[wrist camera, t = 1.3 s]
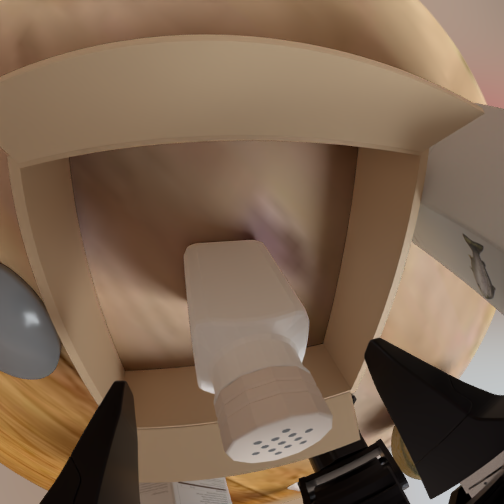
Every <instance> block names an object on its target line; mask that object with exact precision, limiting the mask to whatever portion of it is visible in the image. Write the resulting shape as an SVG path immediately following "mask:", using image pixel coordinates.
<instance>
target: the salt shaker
mask: <svg viewBox="0 0 504 504" xmlns="http://www.w3.org/2000/svg"><path fill="white" fill-rule="evenodd" d="M183 257H184V270H185V282H186V293H187V304H188V313H189V322H190V331H191V339H192V347H193V355H194V362H195V369H196V376H197V383H198V387H199V388H200V389H202V390H204V391H207V392H209V393H212V394H215V396H214V407H215V412H216V417H217V418H218V420H217V421H218V426H219V429H220V430H221V431H220V435H221V439H222V444H223V448H224V452H225V453H226V454H227V455H228V456H229V457H230V458H231V459H232V460H233V461H239V462H246V463H259V462H267V461H274V460H278V459H281V458H284V457H287V456H290V455H293V454H296V453H299V452H301V451H303V450H304V449H306V448H308V447H310V446H312V445H313V444H315V443H317V442H318V441H320V440H321V439H322V438H323V437H324V436H325V435H326V434H327V433H328V432H329V431H330V430H331V429H332V420H333V415H332V413H331V411H330V409H329V407H328V406H327V404H326V402H325V400H324V398H322V394H321V392H320V390H319V388H318V387H316V382H315V381H314V379H313V377H312V375H311V373H310V371H309V370H308V369H306V368H305V367H304V366H303V364H302V361H303V358H304V355H305V351H306V346H307V341H308V332H309V318H308V315H307V312H306V310H305V307H304V306H303V304H302V303H301V301H300V299H299V298H298V296H297V295H296V293H295V292H294V290H293V289H292V287H291V285H290V284H289V282H288V281H287V279H286V278H285V276H284V275H283V273H282V271H281V270H280V268H279V267H278V265H277V264H276V262H275V261H274V259H273V257H272V256H271V254H270V253H269V251H268V250H267V248H266V247H265V245H264V244H263V243H262V242H260V241H256V240H239V241H223V242H208V243H195V244H192V245H190V246H188V247H187V248H186V251H185V254H184V256H183Z"/></svg>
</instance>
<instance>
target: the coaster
mask: <svg viewBox="0 0 504 504" xmlns="http://www.w3.org/2000/svg"><path fill="white" fill-rule="evenodd" d="M60 353H61V341H60V337H59V335H58V333H57V331H56V329H55V327H54V325H53V323H52V320H51V318H50V316H49V313H48V311H47V309H46V306H45V305H44V303H43V302H42V300H41V299H40V298H39V296H38V295H37V294H36V293H35V292H34V290H33V289H32V288H31V287H30V286H29V285H28V284H27V283H26V282H25V281H24V280H23V279H22V278H21V277H19V276H18V275H17V274H16V273H15V272H13V271H12V270H11V269H9V268H8V267H6V266H5V265H3V264H1V263H0V371H2V372H4V373H7V374H9V375H12V376H14V377H18V378H22V379H41V378H44V377H46V376H48V375H50V374H51V373H52V372H53V371H54V370H55V368H56V366H57V364H58V361H59V357H60Z"/></svg>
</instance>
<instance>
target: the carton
mask: <svg viewBox="0 0 504 504" xmlns="http://www.w3.org/2000/svg"><path fill="white" fill-rule="evenodd" d="M483 114H485V113H484V110H483V108H481V107H480V106H478V105H476V104H474V103H472V102H471V101H469V100H467V99H465V98H463V97H461V96H460V95H458V94H456V93H454V92H452V91H450V90H448V89H446V88H443V87H441V86H439V85H437V84H435V83H433V82H430V81H428V80H426V79H424V78H421V77H419V76H416V75H414V74H411V73H409V72H406V71H404V70H401V69H398V68H396V67H393V66H390V65H387V64H384V63H381V62H378V61H375V60H372V59H368V58H365V57H362V56H358V55H354V54H351V53H347V52H343V51H339V50H335V49H331V48H326V47H321V46H316V45H311V44H306V43H300V42H294V41H288V40H281V39H273V38H264V37H253V36H239V35H211V34H201V35H172V36H159V37H148V38H139V39H132V40H125V41H119V42H113V43H107V44H102V45H97V46H92V47H88V48H84V49H79V50H75V51H72V52H68V53H64V54H61V55H57V56H54V57H51V58H48V59H45V60H42V61H39V62H36V63H33V64H30V65H27V66H25V67H22V68H20V69H17V70H15V71H12V72H10V73H7V74H5V75H3V76H1V77H0V147H1V148H2V149H3V150H4V151H5V152H6V153H7V154H9V156H7V162H8V170H9V177H10V183H11V189H12V195H13V200H14V205H15V210H16V215H17V219H18V223H19V227H20V231H21V235H22V239H23V243H24V246H25V250H26V253H27V256H28V260H29V263H30V266H31V269H32V272H33V275H34V278H35V280H36V283H37V286H38V289H39V291H40V294H41V296H42V299H43V301H44V304H45V306H46V309H47V311H48V313H49V316H50V318H51V320H52V323H53V325H54V327H55V329H56V331H57V333H58V335H59V337H60V340H61V342H62V344H63V346H64V348H65V349H66V351H67V353H68V355H69V357H70V359H71V361H72V363H73V364H74V366H75V368H76V370H77V372H78V373H79V375H80V377H81V378H82V380H83V382H84V384H85V385H86V387H87V388H88V390H89V392H90V393H91V395H92V396H93V398H94V399H95V401H96V403H97V404H98V406H99V405H100V404H101V402H102V400H103V399H104V397H105V395H106V394H107V392H108V390H109V389H110V387H111V385H112V384H113V382H114V381H117V380H125V381H126V382H127V383H128V385H129V387H130V389H131V391H132V394H133V397H134V406H135V417H136V426H137V435H138V473H139V483H159V482H182V481H195V480H205V479H214V478H221V477H228V476H235V475H240V474H246V473H251V472H256V471H261V470H266V469H270V468H274V467H278V466H282V465H286V464H290V463H294V462H297V461H301V460H304V459H307V458H311V457H314V456H317V455H320V454H323V453H326V452H329V451H332V450H335V449H337V448H340V447H343V446H345V445H348V444H350V443H353V442H355V441H358V440H360V435H359V429H358V424H357V419H356V414H355V409H354V405H353V400H352V395H351V393H354V392H356V390H357V388H358V386H359V384H360V381H361V379H362V377H363V375H364V373H365V371H366V369H367V364H366V361H365V359H364V353H365V351H366V348H367V346H368V343H369V341H370V340H372V339H375V338H380V336H381V334H382V331H383V329H384V326H385V323H386V321H387V318H388V315H389V313H390V310H391V307H392V304H393V301H394V298H395V296H396V293H397V290H398V286H399V283H400V280H401V277H402V274H403V270H404V267H405V264H406V260H407V257H408V253H409V249H410V246H411V242H412V238H413V234H414V230H415V226H416V221H417V217H418V212H419V207H420V203H421V198H422V192H423V187H424V181H425V175H426V169H427V162H428V154H429V147H431V146H433V145H434V144H436V143H438V142H439V141H441V140H442V139H444V138H446V137H447V136H449V135H451V134H452V133H454V132H455V131H457V130H459V129H460V128H462V127H464V126H465V125H467V124H468V123H470V122H472V121H473V120H475V119H477V118H478V117H480V116H481V115H483ZM207 141H290V142H310V143H324V144H336V145H347V146H357V147H358V156H357V166H356V175H355V183H354V190H353V198H352V205H351V212H350V218H349V224H348V231H347V236H346V242H345V248H344V253H343V259H342V264H341V269H340V274H339V279H338V283H337V288H336V293H335V297H334V302H333V306H332V310H331V315H330V319H329V323H328V327H327V331H326V335H325V339H324V342H323V344H320V345H316V346H311V347H307V348H306V351H305V355H304V358H303V361H302V364H303V366H304V367H305V368H306V369H308V370H309V371H310V373H311V375H312V377H313V379H314V381H315V382H316V387H318V388H319V390H320V392H321V394H322V398H324V400H325V402H326V404H327V406H328V407H329V409H330V411H331V413H332V415H333V420H332V429H331V430H330V431H329V432H328V433H327V434H326V435H325V436H324V437H323V438H322V439H321V440H320V441H318V442H317V443H315V444H313V445H312V446H310V447H308V448H306V449H304V450H303V451H301V452H299V453H296V454H293V455H290V456H287V457H284V458H281V459H278V460H274V461H267V462H259V463H246V462H239V461H233V460H232V459H231V458H230V457H229V456H228V455H227V454H226V453H225V452H224V448H223V444H222V439H221V435H220V431H221V430H220V429H219V426H218V421H217V420H218V418H217V417H216V412H215V407H214V396H215V394H212V393H209V392H207V391H204V390H202V389H200V388H199V387H198V383H197V376H196V369H195V366H189V367H178V368H167V369H154V370H137V371H125V370H124V368H123V365H122V363H121V361H120V358H119V356H118V353H117V351H116V348H115V346H114V343H113V341H112V338H111V335H110V333H109V330H108V327H107V324H106V322H105V319H104V316H103V313H102V310H101V307H100V304H99V301H98V297H97V294H96V291H95V288H94V284H93V281H92V277H91V273H90V270H89V266H88V262H87V258H86V254H85V250H84V246H83V241H82V237H81V232H80V227H79V222H78V217H77V212H76V206H75V200H74V194H73V187H72V179H71V171H70V162H69V157H73V156H78V155H84V154H90V153H96V152H102V151H109V150H116V149H123V148H131V147H140V146H150V145H160V144H172V143H187V142H207Z"/></svg>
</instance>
